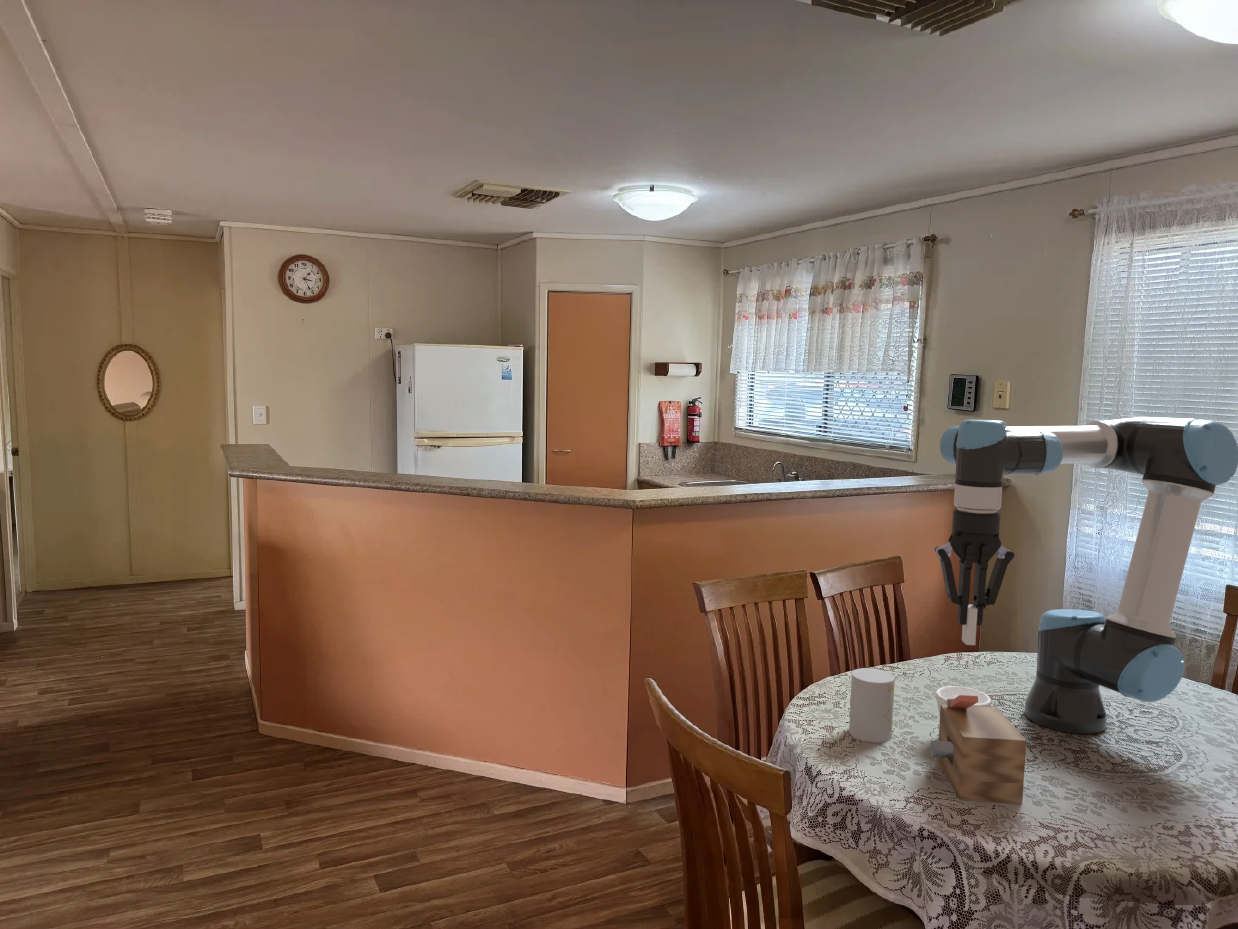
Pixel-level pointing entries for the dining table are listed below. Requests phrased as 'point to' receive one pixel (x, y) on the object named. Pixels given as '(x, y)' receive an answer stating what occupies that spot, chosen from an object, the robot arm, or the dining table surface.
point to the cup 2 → (955, 691)
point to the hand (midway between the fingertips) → (968, 642)
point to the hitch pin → (942, 749)
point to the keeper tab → (962, 701)
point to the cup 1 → (871, 705)
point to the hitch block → (983, 754)
